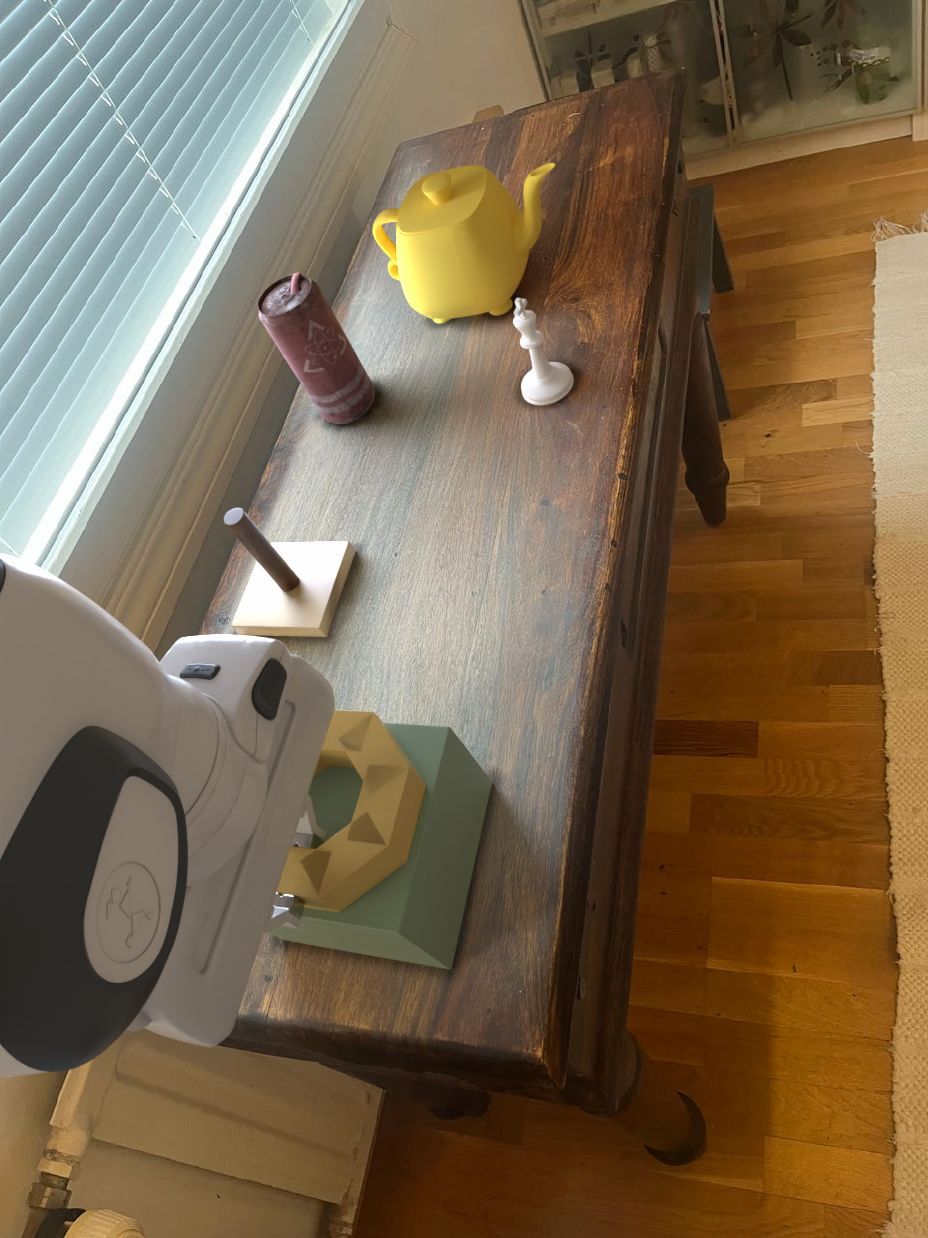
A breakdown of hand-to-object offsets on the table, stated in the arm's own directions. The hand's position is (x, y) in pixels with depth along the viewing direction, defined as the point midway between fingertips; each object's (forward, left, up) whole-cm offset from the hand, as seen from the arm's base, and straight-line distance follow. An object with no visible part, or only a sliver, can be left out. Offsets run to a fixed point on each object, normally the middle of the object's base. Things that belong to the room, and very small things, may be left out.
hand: (302, 879), depth 55 cm
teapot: (+65, +5, -10) cm, 66 cm away
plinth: (+5, 0, -10) cm, 11 cm away
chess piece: (+50, -4, -10) cm, 51 cm away
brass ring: (+5, 0, -1) cm, 5 cm away
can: (+50, +17, -10) cm, 54 cm away
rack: (+27, +15, -10) cm, 33 cm away
